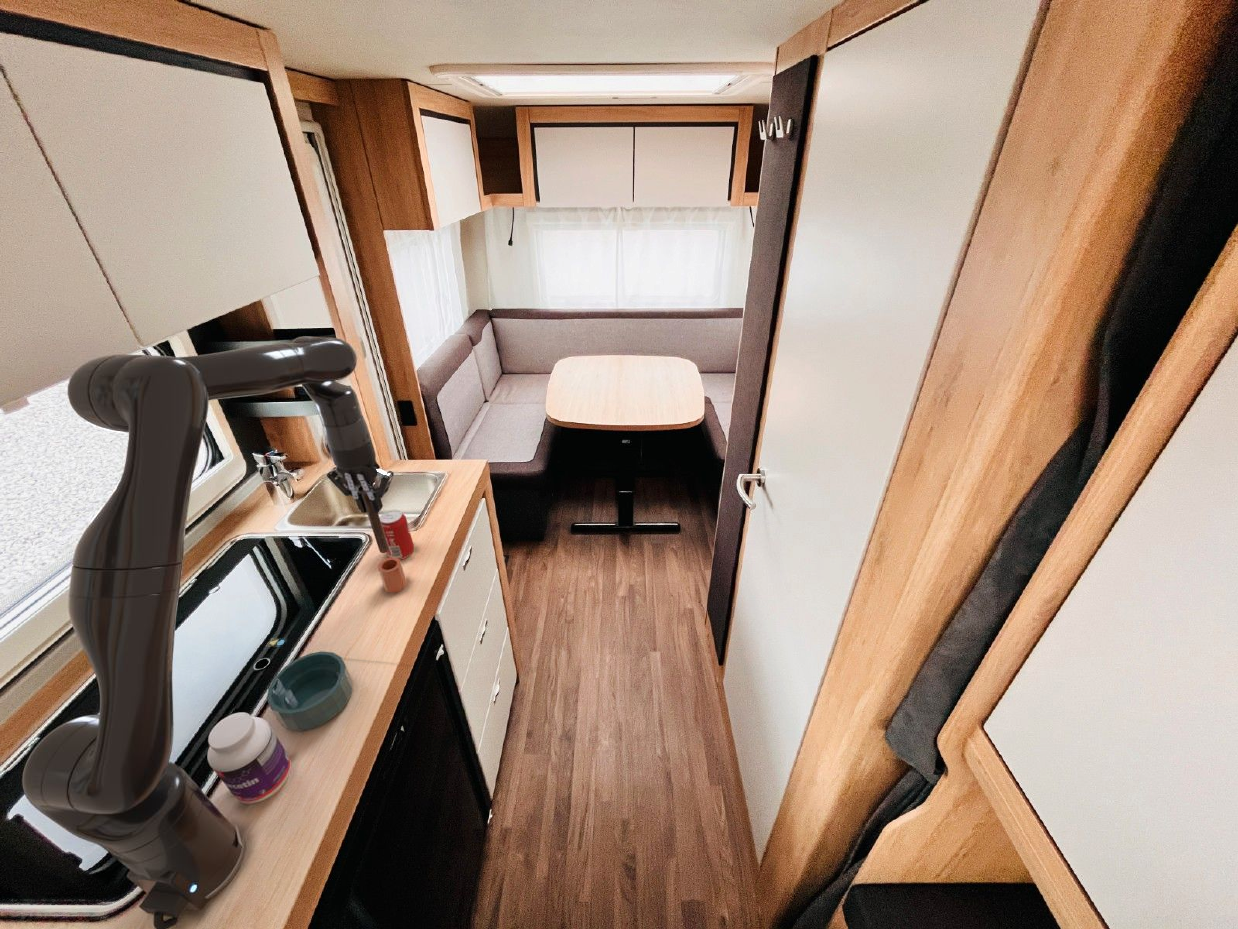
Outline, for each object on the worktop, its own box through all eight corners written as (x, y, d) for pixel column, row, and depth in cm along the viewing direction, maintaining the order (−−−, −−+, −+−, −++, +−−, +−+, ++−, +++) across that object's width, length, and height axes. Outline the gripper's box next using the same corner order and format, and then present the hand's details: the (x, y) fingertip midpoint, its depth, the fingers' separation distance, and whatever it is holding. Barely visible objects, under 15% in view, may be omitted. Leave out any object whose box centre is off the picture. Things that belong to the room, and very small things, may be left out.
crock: (401, 595, 117) (394, 573, 113) (381, 593, 117) (373, 571, 113) (410, 580, 121) (404, 558, 117) (391, 578, 121) (384, 556, 117)
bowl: (329, 736, 89) (319, 717, 86) (263, 729, 90) (249, 709, 87) (366, 674, 99) (358, 654, 96) (306, 668, 100) (296, 648, 97)
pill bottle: (224, 804, 80) (182, 755, 72) (258, 752, 86) (223, 702, 79) (273, 808, 79) (236, 759, 72) (304, 756, 86) (273, 706, 78)
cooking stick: (386, 553, 112) (367, 494, 103) (378, 553, 112) (358, 494, 104) (391, 547, 114) (372, 489, 105) (382, 546, 114) (363, 488, 105)
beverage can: (420, 547, 130) (409, 510, 124) (405, 563, 125) (394, 526, 119) (398, 543, 132) (387, 506, 125) (383, 559, 126) (371, 522, 120)
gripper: (303, 447, 95) (330, 519, 104) (373, 451, 94) (394, 524, 103) (326, 428, 101) (350, 498, 111) (392, 432, 100) (411, 502, 109)
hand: (371, 510), depth 107 cm, fingers closed on cooking stick, 2 cm apart
